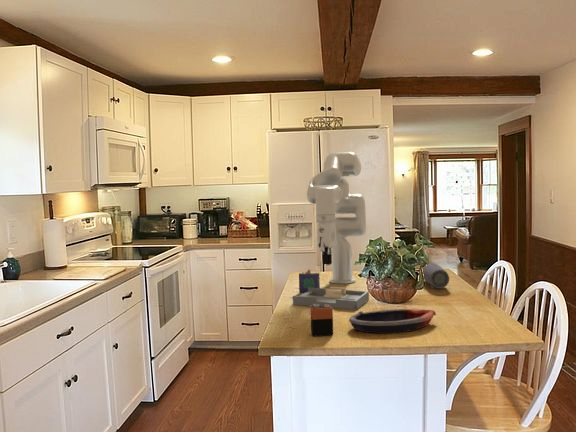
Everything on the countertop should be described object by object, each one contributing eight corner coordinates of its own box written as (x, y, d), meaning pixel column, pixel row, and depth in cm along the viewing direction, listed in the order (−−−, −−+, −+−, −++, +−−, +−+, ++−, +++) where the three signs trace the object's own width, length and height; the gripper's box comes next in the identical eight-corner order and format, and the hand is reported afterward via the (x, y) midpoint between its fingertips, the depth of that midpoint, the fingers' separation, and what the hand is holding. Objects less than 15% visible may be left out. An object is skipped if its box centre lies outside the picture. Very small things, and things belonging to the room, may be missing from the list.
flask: (319, 292, 226) (319, 268, 225) (320, 293, 223) (319, 269, 222) (299, 292, 227) (298, 268, 226) (299, 294, 224) (298, 270, 223)
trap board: (308, 295, 221) (308, 287, 220) (368, 299, 209) (368, 291, 209) (293, 304, 206) (292, 295, 205) (356, 309, 194) (356, 300, 194)
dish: (343, 324, 176) (343, 310, 176) (426, 317, 181) (426, 304, 181) (356, 338, 161) (356, 323, 161) (446, 330, 166) (446, 315, 165)
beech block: (331, 293, 214) (331, 286, 214) (346, 294, 211) (345, 287, 211) (325, 297, 208) (325, 289, 208) (340, 298, 205) (340, 290, 205)
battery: (310, 332, 168) (310, 303, 167) (331, 331, 168) (330, 302, 167) (312, 336, 163) (311, 306, 163) (333, 335, 164) (332, 305, 163)
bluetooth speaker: (417, 280, 243) (417, 260, 242) (437, 280, 243) (437, 259, 242) (429, 291, 220) (428, 268, 220) (450, 290, 220) (450, 268, 219)
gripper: (327, 221, 191) (329, 268, 193) (341, 216, 205) (342, 260, 207) (309, 220, 194) (311, 267, 197) (323, 215, 208) (325, 259, 210)
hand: (327, 263), depth 202 cm, fingers closed
